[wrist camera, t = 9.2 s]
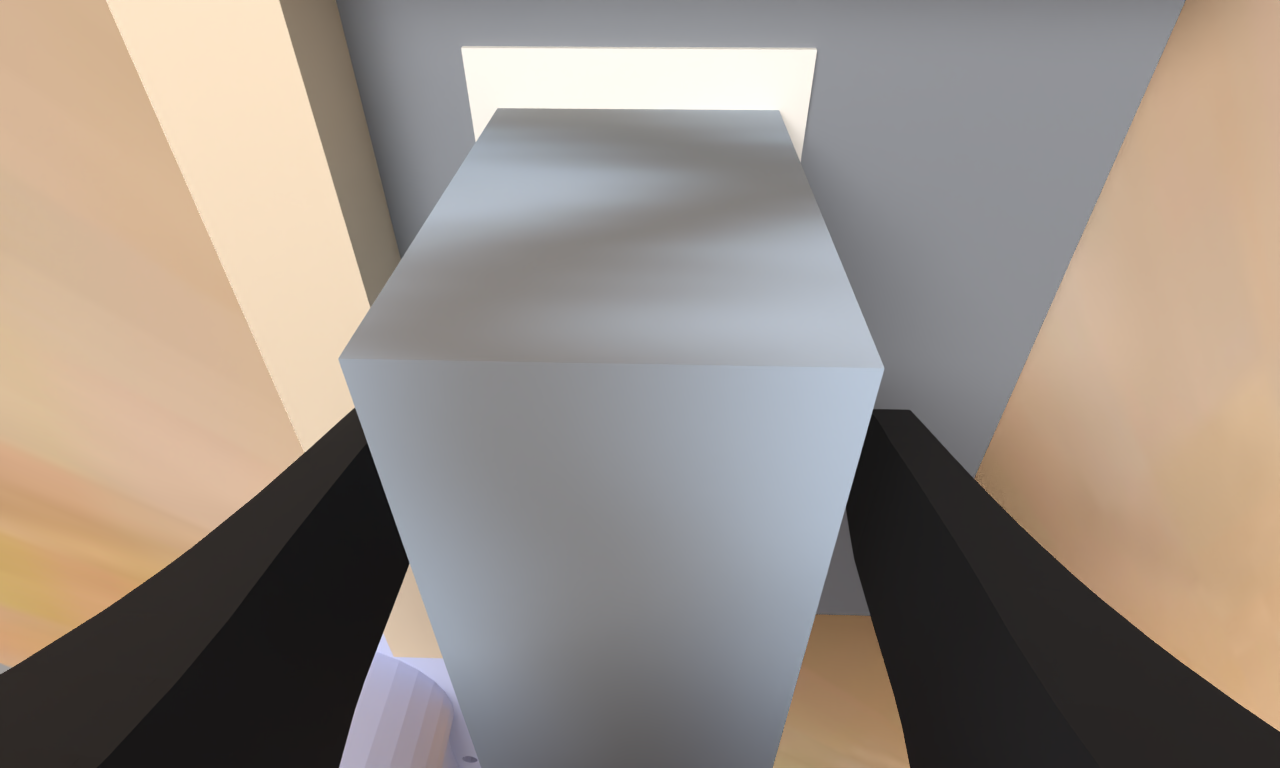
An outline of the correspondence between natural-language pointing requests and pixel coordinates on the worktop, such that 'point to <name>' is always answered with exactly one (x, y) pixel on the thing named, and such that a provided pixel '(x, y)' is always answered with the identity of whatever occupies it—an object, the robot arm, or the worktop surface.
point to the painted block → (620, 431)
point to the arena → (660, 79)
